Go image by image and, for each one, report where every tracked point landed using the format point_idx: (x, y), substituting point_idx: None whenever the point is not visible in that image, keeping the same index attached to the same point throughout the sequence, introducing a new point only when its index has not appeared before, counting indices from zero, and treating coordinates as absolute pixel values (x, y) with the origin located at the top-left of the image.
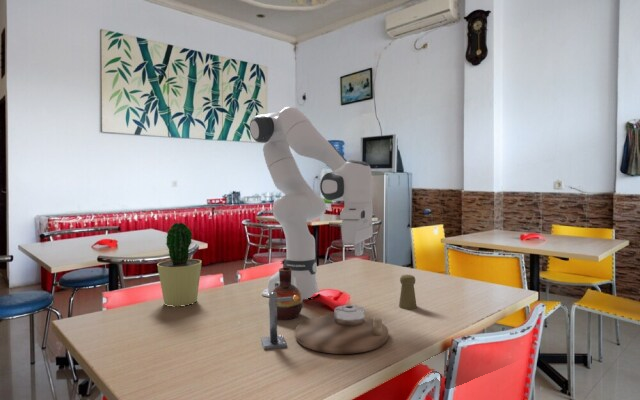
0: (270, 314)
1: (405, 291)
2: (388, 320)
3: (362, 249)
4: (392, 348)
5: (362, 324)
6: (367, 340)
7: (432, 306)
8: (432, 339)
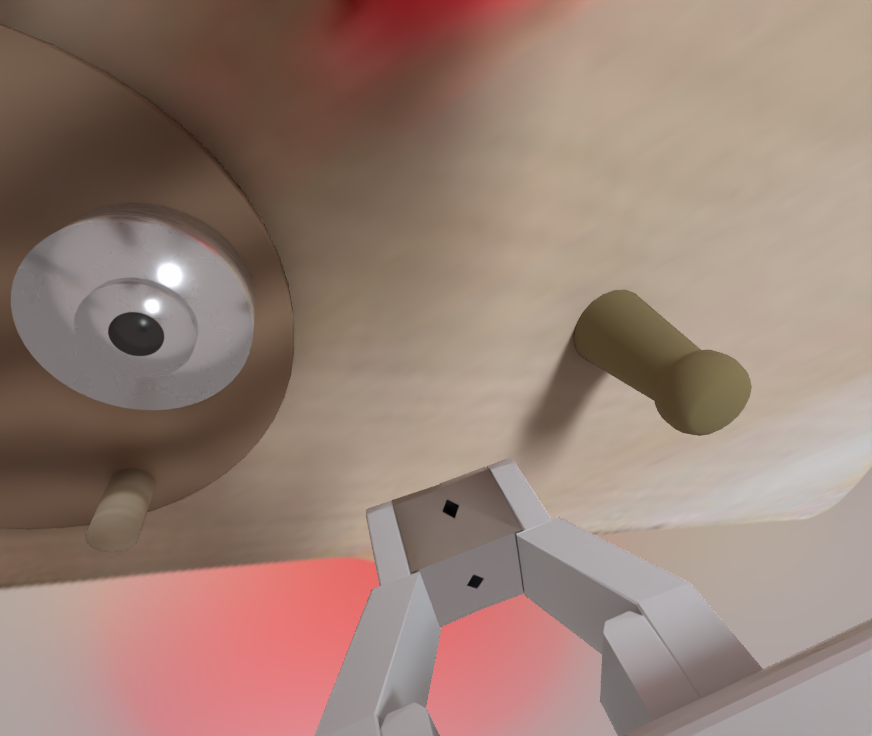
0: None
1: (632, 371)
2: (397, 361)
3: (523, 592)
4: None
5: None
6: (27, 499)
7: (639, 394)
8: (316, 546)
